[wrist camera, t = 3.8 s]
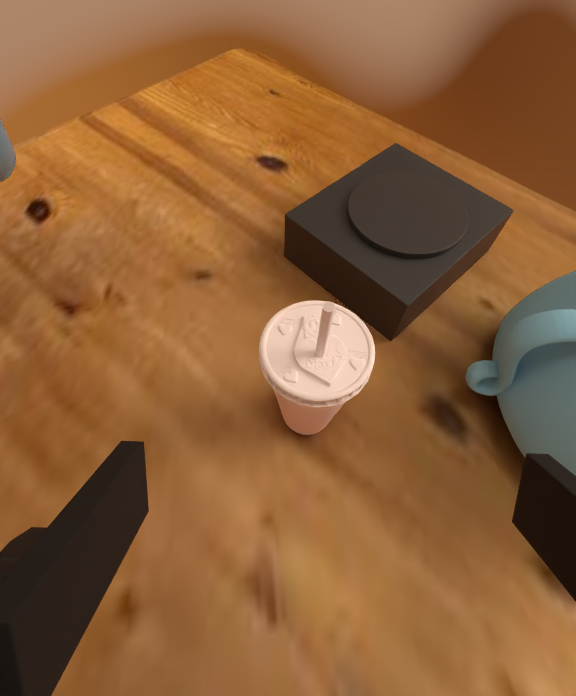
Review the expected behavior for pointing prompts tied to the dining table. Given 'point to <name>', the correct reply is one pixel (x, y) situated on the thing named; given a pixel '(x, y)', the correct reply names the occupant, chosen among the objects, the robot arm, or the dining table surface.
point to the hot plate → (392, 236)
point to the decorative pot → (536, 371)
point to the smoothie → (315, 361)
